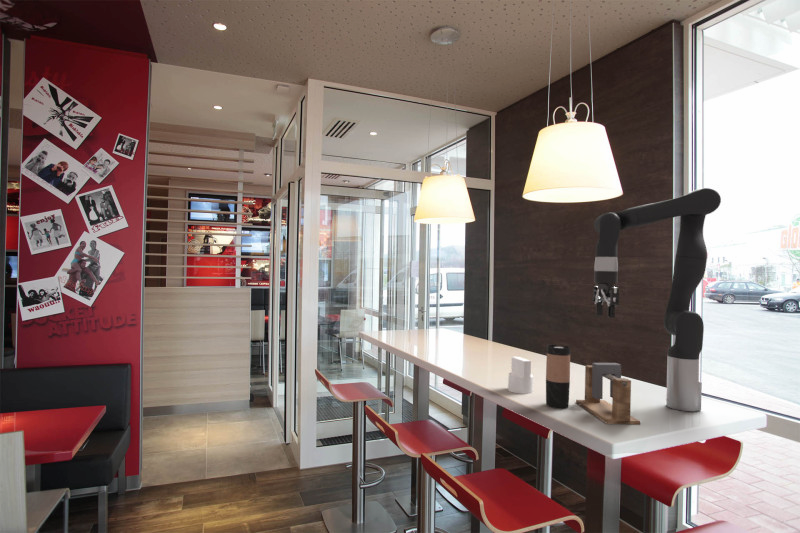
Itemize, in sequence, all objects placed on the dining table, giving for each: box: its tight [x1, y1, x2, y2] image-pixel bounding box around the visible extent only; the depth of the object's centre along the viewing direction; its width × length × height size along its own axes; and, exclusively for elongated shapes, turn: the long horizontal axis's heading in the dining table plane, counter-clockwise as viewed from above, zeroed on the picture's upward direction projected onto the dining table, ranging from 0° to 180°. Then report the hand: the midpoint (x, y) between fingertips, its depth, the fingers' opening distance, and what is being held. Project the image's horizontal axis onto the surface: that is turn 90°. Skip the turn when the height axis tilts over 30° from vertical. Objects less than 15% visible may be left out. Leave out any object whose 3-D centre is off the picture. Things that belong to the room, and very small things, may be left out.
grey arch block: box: [591, 362, 622, 400], centre depth 147 cm, size 8×3×11 cm, turn 92°
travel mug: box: [545, 344, 571, 410], centre depth 154 cm, size 8×8×20 cm
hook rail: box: [575, 364, 641, 425], centre depth 147 cm, size 10×22×13 cm, turn 2°
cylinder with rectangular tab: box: [507, 356, 534, 395], centre depth 172 cm, size 9×9×12 cm
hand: (604, 316), depth 160 cm, fingers open, 8 cm apart
